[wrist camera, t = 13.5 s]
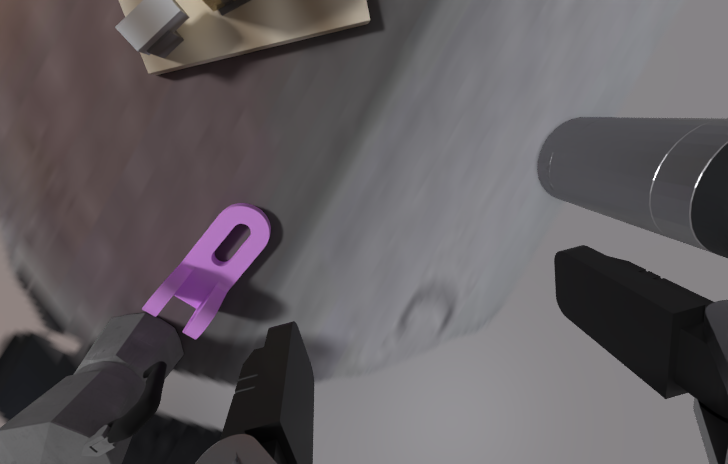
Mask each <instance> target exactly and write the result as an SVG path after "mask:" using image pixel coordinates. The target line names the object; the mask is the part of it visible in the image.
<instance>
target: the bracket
mask: <svg viewBox="0 0 728 464" xmlns="http://www.w3.org/2000/svg"><path fill="white" fill-rule="evenodd" d="M237 224H245V225H247V226H248V227H249V228H250V230H251V235H250V236H249V237H248V239H247V240H246V241H245V242H244V243H243V245H242V246H241V247H240V248H239V250H238V251H237V252H236V253H235V254H234V256H233V257H232V258H231V259H230V260H229V261H226V262H222V261H219V260H218V259H217V258H216V257H215V250H216V249H217V247H218V246H219V245H220V244H221V242H222V241H223V240H224V239H225V238H226V236H227V235H228V234H229V233H230V231H231V230H232V229H233V228H234V226H236V225H237ZM270 234H271V225H270V221H269V219H268V217H267V216H266V214H265V213H264V212H263V211H262V210H261V209H259V208H258V207H256V206H254V205H251V204H247V203H238V204H233V205H231V206H229V207H227V208H226V209H225V210H223V211H222V212H221V213H220V215H219V216H218V217H217V218H216V219H215V221H214V222H213V223H212V224H211V226H210V227H209V228H208V230H207V231H206V232H205V233H204V235H203V236H202V237H201V238H200V240H199V241H198V242H197V243H196V245H195V246H194V247H193V248H192V250H191V251H190V252H189V253H188V255H187V256H186V257H185V259H184V260H183V261H182V262H181V263H180V264H179V266H178V267H177V268H176V269H175V270H174V271H173V272H172V273H171V274H170V275H169V276H168V278H167V279H166V280H165V281H164V282H163V283H162V284H161V286H160V287H159V288H158V289H157V290H156V291H155V293H154V294H153V295H152V296H151V298H150V299H149V300H148V301H147V303H146V304H145V305H144V306H143V308H142V310H144V311H146V312H148V313H149V314H151V315H153V316H155V317H156V316H157V315H158V314H159V312H160V311H161V310H162V309H163V307H164V306H165V305H166V304H167V302H168V301H169V300H170V299H171V297H172V296H173V295H174V296H176V297H178V298H179V299H181V300H183V301H184V302H186V303H188V304H189V305H191V306H193V307H194V308H196V310H195V312H194V313H193V315H192V317H191V318H190V320H189V321H188V323H187V325H186V326H185V328H184V330H183V331H182V332H183V333H184V334H186V335H188V336H190V337H191V338H193V339H195V340H196V339H197V338H198V337H199V336H200V335H201V334H202V333H203V331H204V330H205V329H206V328H207V326H208V325H209V324H210V322H211V321H212V319H213V318H214V316H215V315H216V313H217V311H218V310H219V308H220V306H221V304H222V302H223V300H224V298H225V296H226V294H227V292H228V291H229V289H230V288H231V287H232V286H233V285H234V283H235V282H236V281H237V280H238V279H239V277H240V276H241V275H242V274H243V273H244V271H245V270H246V269H247V268H248V267H249V265H250V264H251V263H252V262H253V261H254V260H255V258H256V257H257V256H258V255H259V254H260V252H261V251H262V250H263V249H264V248H265V246H266V245H267V243H268V240H269V238H270Z"/></svg>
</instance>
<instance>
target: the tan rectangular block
mask: <svg viewBox="0 0 728 464" xmlns="http://www.w3.org/2000/svg"><path fill="white" fill-rule="evenodd" d="M202 1H203V2H204V3H205V4H206V5H207V6H208V7H209V8H210V9H211V10H212V11H213V12H214V11H216V10H218V9H220V8H222V7H224V6H228V5H230V4H232V3H233V2H234V1H235V0H202Z"/></svg>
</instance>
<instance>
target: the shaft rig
mask: <svg viewBox="0 0 728 464" xmlns="http://www.w3.org/2000/svg"><path fill="white" fill-rule="evenodd" d="M119 2H120V5H121V7H122V10H123V12H124V15H125V18H124V19H123V20H122V21H121V22H120V23H119V24H118V25H117V26H116V27H115V28H116V29H117V30H118V31H119V32H120V33H121V34H122V35H123V36H124V37H125V38H126V39H127V41H128V42H129V43H130V44H131V45H132V46H133V47H134V48H135V49H136V50H137V51H138V52H140V54H141V56H142V58H143V61H144V63H145V66H146V68H147V71H148V73H149V74H153V75H160V74H164V73H168V72H172V71H176V70H180V69H184V68H188V67H193V66H197V65H201V64H205V63H209V62H213V61H217V60H221V59H226V58H230V57H234V56H238V55H242V54H246V53H250V52H254V51H259V50H263V49H267V48H271V47H275V46H279V45H283V44H287V43H292V42H296V41H300V40H304V39H308V38H312V37H316V36H320V35H325V34H329V33H333V32H337V31H341V30H345V29H349V28H353V27H358V26H362V25H366V24H368V23H369V22H370V15H369V10H368V5H367V0H235V1H234V2H233V3H232V4H230V5H228V6H224V7H222V8H220V9H218V10H216V11H214V12H213V11H212V10H211V9H210V8H209V7H208V6H207V5H206V4H205V3H204V2H203V1H202V0H119Z"/></svg>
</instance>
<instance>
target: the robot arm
mask: <svg viewBox="0 0 728 464" xmlns="http://www.w3.org/2000/svg"><path fill="white" fill-rule="evenodd" d="M538 176H539V180H540V182H541V185H542V186H543V188H544V189H545V190H546V192H548V193H549V194H550V195H551V196H553V197H556V198H558V199H561V200H563V201H566V202H569V203H572V204H575V205H578V206H580V207H583V208H586V209H589V210H591V211H594V212H597V213H600V214H603V215H606V216H609V217H612V218H614V219H617V220H620V221H623V222H626V223H629V224H631V225H634V226H637V227H640V228H643V229H646V230H649V231H652V232H654V233H657V234H660V235H663V236H666V237H669V238H672V239H675V240H678V241H681V242H683V243H686V244H689V245H692V246H695V247H698V248H700V249H703V250H706V251H709V252H712V253H715V254H717V255H720V256H723V257H726V258H728V119H706V118H705V119H703V118H616V117H579V118H575V119H571V120H569V121H567V122H565V123H563V124H562V125H560V126H559V127H558V128H556V129H555V130H554V131H553V132H552V133H551V134H550V135H549V137H548V138H547V140H546V141H545V143H544V145H543V147H542V149H541V151H540V155H539V159H538ZM554 262H555V283H556V299H557V303H558V305H559V308H560V309H561V311H562V313H563V314H564V315H565V316H566V317H567V318H568V319H569V320H571V321H572V322H573V323H574V324H575V325H576V326H578V327H579V328H580V329H581V330H583V331H584V332H585V333H586V334H587V335H589V336H590V337H591V338H592V339H594V340H595V341H596V342H597V343H598V344H600V345H601V346H602V347H603V348H605V349H606V350H607V351H608V352H609V353H611V354H612V355H613V356H614V357H615V358H617V359H618V360H619V361H620V362H622V363H623V364H624V365H625V366H626V367H627V368H629V369H630V370H631V371H632V372H634V373H635V374H636V375H637V376H638V377H640V378H641V379H642V380H643V381H644V382H646V383H647V384H648V385H649V386H651V387H652V388H653V389H654V390H656V391H657V392H658V393H659V394H660V395H661V396H663V397H664V398H665V399H667V398H671V397H674V396H678V395H681V394H685V393H690V394H691V395H692V396H693V397H695V399H694V406H693V407H694V413H695V416H696V420H697V423H698V426H699V430H700V433H701V436H702V440H703V443H704V447H705V450H706V453H707V457H708V460H709V464H728V300H722V301H717V302H713V301H711V300H708V299H707V298H704V297H702V296H700V295H698V294H696V293H694V292H692V291H689V290H688V289H686V288H683V287H681V286H679V285H677V284H675V283H673V282H671V281H669V280H667V279H664V278H663V279H661V278H660V276H658V275H656V274H654V273H652V272H650V271H648V272H647V271H646V269H644V268H641V267H639V266H637V265H635V264H633V263H631V262H629V261H625V260H621V259H617V258H613V257H609V256H606V255H604V254H602V253H600V252H598V251H596V250H594V249H592V248H590V247H588V246H584V245H582V246H578V247H574V248H571V249H567V250H563V251H559V252H557V253H556V255H555V261H554ZM313 417H314V377H313V371H312V367H311V363H310V360H309V357H308V354H307V352H306V349H305V346H304V343H303V340H302V337H301V334H300V331H299V329H298V326H297V324H296V322H294V321H293V322H290V323H286V324H282V325H278V326H275V327H271V328H269V330H268V333H267V337H266V342H265V346H264V347H263V348H259V349H256V350H254V351H253V352H252V353H251V355H250V356H249V357H248V359H247V360H246V361H245V363H244V364H243V367H242V370H241V373H240V376H239V381H238V383H237V386H236V389H235V394H234V396H233V399H232V403H231V406H230V409H229V412H228V416H227V419H226V422H225V425H224V429H223V432H222V435H221V438H220V441H219V442H217V443H216V444H214V445H213V446H212V447H210V448H209V449H208V450H207V451H206V452H205V453H204V454H203V455H202V456H201V457H200V458H199V460H198V461H197V462H196V464H312V463H313Z"/></svg>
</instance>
